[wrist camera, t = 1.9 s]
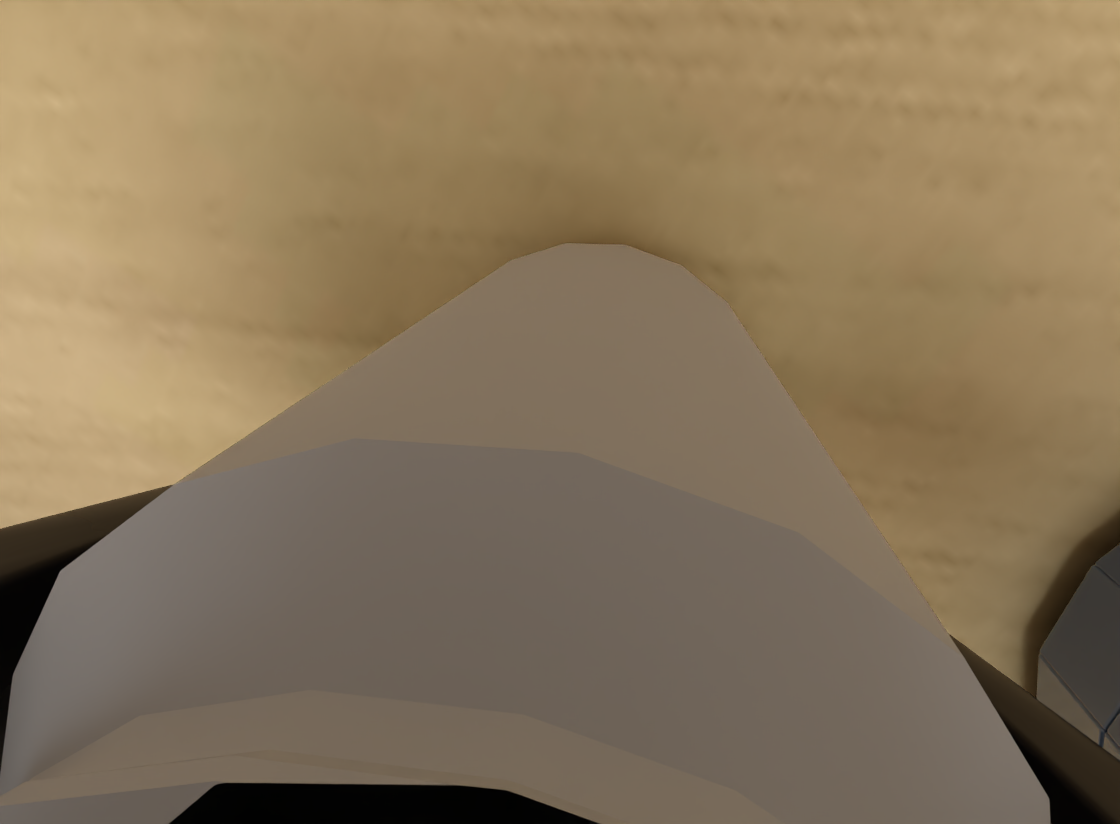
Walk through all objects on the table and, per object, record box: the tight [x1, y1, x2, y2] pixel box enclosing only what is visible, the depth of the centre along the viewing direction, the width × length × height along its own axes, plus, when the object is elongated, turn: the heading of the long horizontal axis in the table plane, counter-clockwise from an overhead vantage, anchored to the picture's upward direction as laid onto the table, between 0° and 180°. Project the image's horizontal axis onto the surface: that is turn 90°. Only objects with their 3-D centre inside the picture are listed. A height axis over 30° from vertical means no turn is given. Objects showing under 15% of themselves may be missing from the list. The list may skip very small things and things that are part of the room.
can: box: [0, 243, 1050, 824], centre depth 8 cm, size 8×8×12 cm
